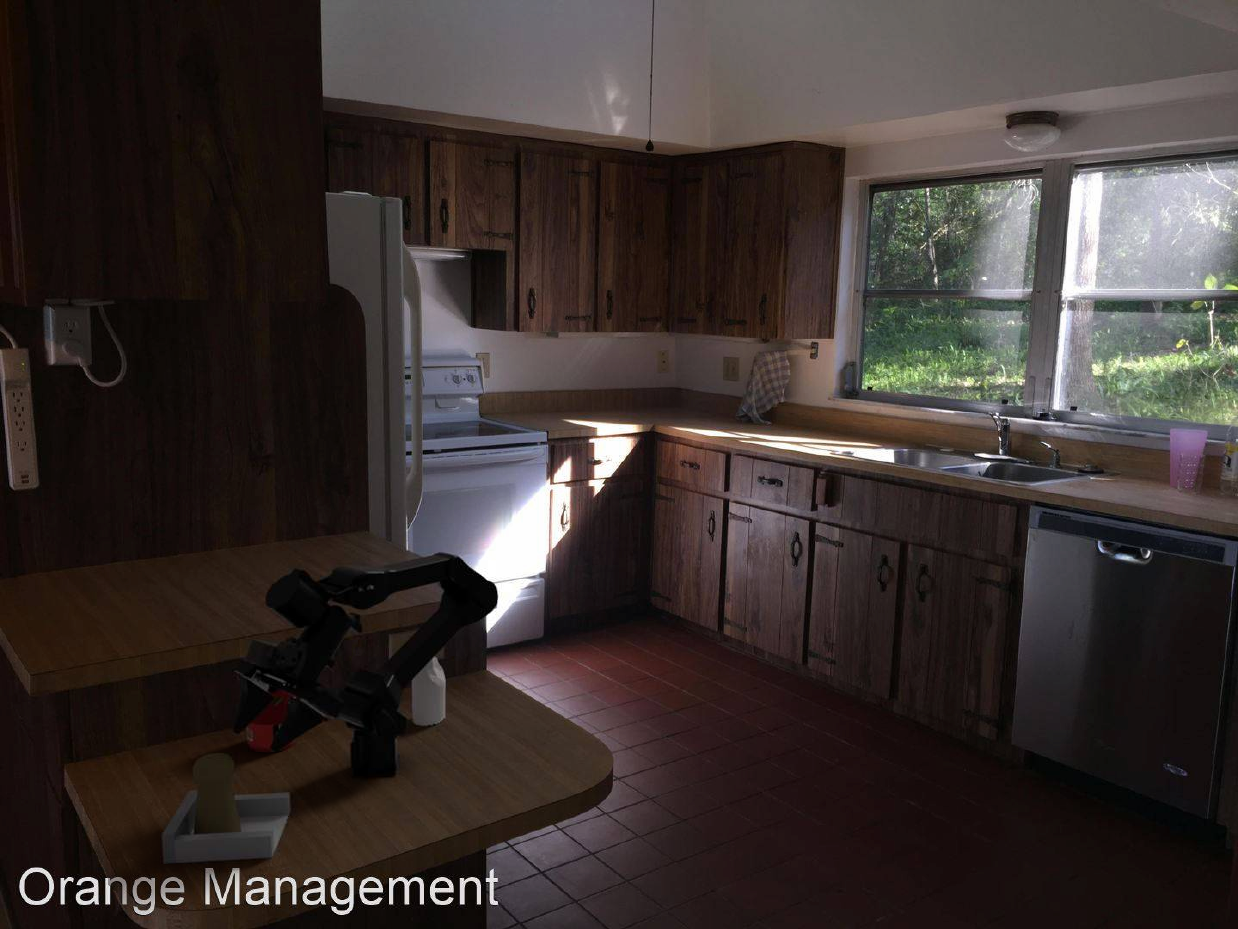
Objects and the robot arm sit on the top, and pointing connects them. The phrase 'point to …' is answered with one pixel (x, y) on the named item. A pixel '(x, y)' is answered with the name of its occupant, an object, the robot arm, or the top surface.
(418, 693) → the white milk jug
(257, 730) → the canned food
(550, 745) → the top surface
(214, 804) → the olive rounded tall piece
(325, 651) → the robot arm
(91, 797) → the top surface
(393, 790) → the top surface
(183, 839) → the shallow grey tray
